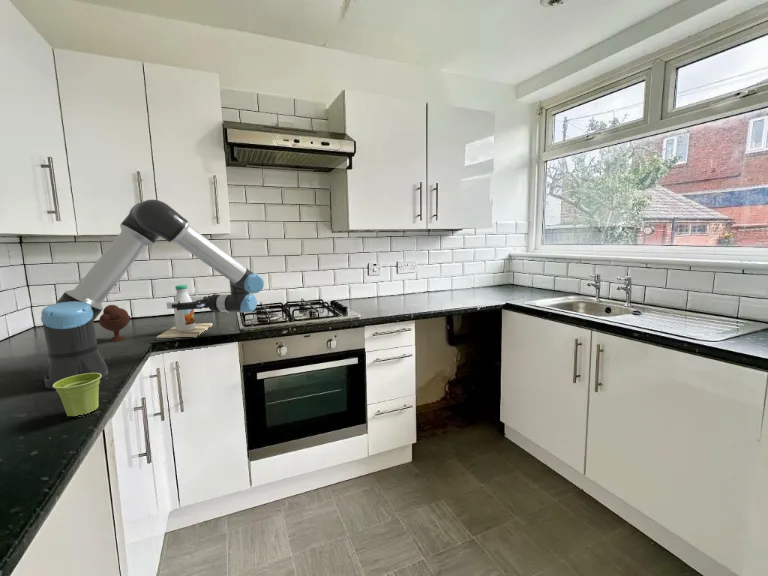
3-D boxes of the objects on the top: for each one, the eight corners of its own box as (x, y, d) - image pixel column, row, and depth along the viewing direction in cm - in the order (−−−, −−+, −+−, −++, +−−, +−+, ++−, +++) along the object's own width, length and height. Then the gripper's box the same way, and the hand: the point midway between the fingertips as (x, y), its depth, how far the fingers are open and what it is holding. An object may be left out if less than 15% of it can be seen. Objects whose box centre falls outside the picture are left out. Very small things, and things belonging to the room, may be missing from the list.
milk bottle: (178, 332, 163) (173, 287, 160) (174, 329, 168) (169, 285, 165) (198, 329, 168) (193, 285, 165) (193, 326, 173) (188, 283, 170)
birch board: (196, 337, 159) (196, 334, 159) (156, 339, 157) (156, 336, 157) (212, 325, 179) (212, 323, 179) (177, 327, 177) (176, 324, 177)
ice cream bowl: (96, 345, 152) (91, 308, 149) (108, 337, 162) (103, 303, 160) (126, 342, 155) (121, 306, 152) (136, 335, 165) (132, 301, 163)
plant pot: (49, 418, 91) (43, 384, 90) (91, 401, 100) (86, 370, 98) (74, 424, 88) (68, 389, 86) (115, 406, 96) (110, 374, 95)
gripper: (202, 318, 150) (157, 316, 155) (239, 305, 174) (199, 304, 179) (200, 299, 149) (155, 299, 154) (237, 289, 173) (198, 289, 178)
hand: (179, 302), depth 167 cm, fingers open, 13 cm apart
